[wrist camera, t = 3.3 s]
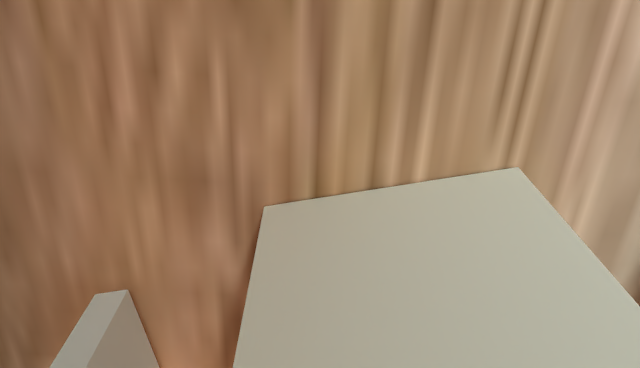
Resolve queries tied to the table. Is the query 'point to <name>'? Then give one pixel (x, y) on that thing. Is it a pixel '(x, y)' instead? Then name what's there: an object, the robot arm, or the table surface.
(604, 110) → the table surface
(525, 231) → the white rectangular block
